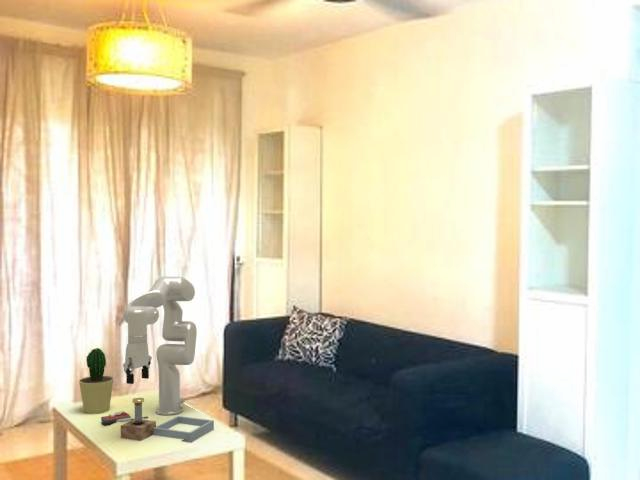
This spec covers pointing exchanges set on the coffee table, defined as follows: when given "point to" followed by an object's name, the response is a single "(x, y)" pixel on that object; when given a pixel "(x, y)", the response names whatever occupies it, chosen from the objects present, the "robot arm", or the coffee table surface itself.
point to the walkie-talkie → (116, 418)
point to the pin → (138, 410)
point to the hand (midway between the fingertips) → (137, 380)
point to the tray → (187, 436)
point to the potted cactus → (96, 384)
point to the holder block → (137, 430)
